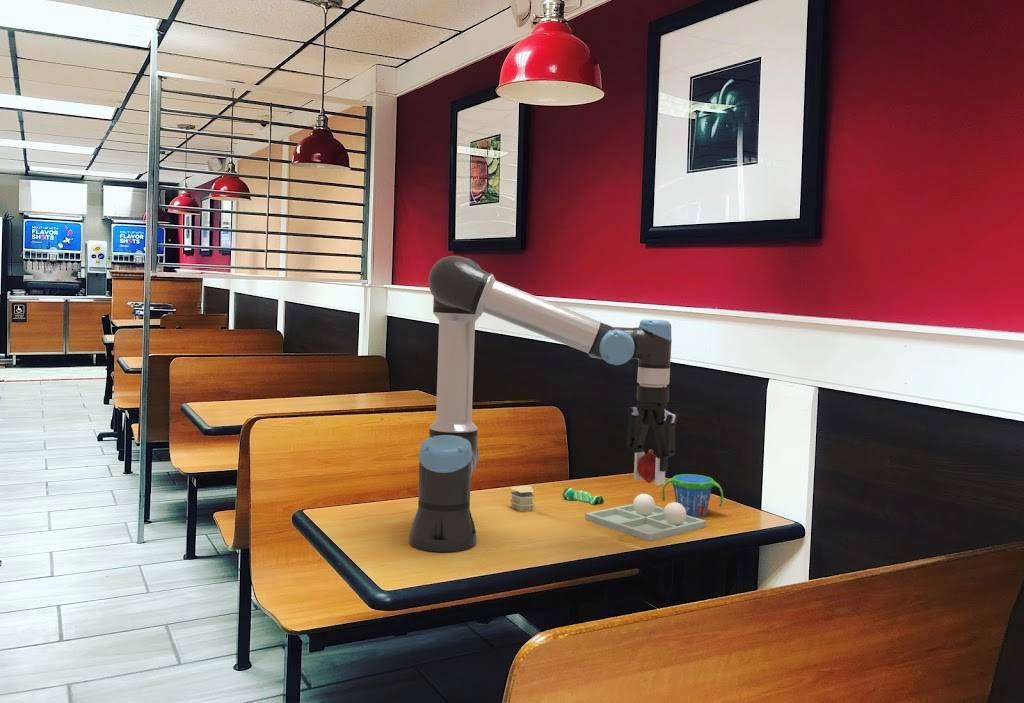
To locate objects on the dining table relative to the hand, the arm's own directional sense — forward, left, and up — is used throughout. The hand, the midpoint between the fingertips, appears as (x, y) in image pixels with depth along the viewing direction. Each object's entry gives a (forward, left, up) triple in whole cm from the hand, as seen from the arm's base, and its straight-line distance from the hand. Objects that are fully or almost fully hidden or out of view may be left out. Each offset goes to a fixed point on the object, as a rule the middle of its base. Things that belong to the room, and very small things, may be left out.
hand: (649, 481), depth 200 cm
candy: (+8, +30, -14) cm, 34 cm away
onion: (0, 0, 0) cm, 0 cm away
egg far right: (+10, 0, -12) cm, 16 cm away
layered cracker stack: (-10, +35, -14) cm, 39 cm away
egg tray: (+5, +5, -13) cm, 15 cm away
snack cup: (+23, +5, -13) cm, 27 cm away
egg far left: (+10, +10, -12) cm, 19 cm away
